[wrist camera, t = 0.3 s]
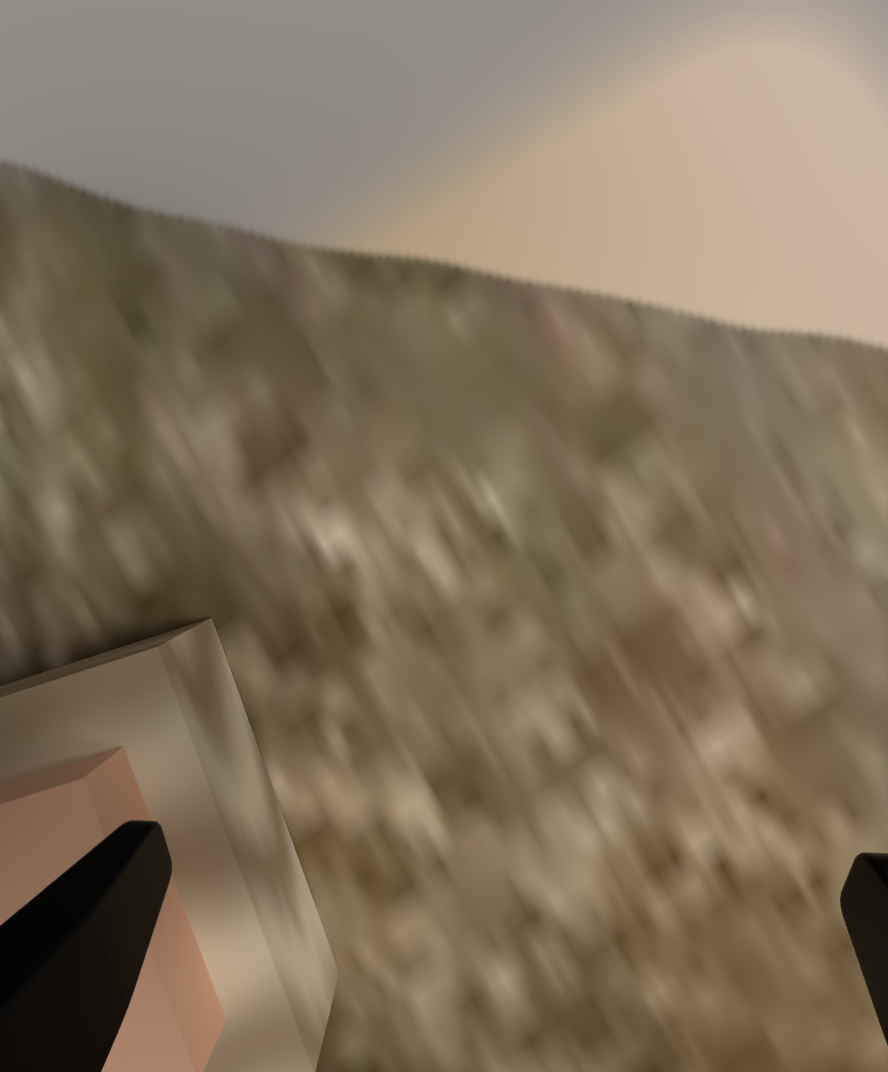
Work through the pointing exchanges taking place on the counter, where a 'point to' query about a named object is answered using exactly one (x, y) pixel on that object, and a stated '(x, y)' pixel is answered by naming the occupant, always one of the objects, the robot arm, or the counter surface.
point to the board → (197, 826)
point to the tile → (173, 954)
